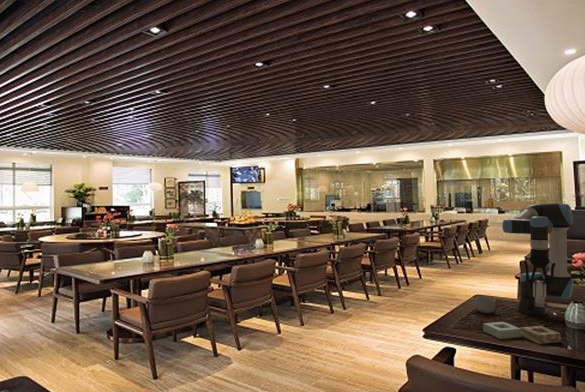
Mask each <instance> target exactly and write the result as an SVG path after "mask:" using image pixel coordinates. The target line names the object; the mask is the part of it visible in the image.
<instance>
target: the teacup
mask: <svg viewBox="0 0 585 392" xmlns="http://www.w3.org/2000/svg"><path fill="white" fill-rule="evenodd" d="M472 301H474V302H475V304H474V303H473V302H472ZM469 303H470V305H471V306H473V307H474V308H475V309H477V310H478V311H479V312H480V313H482V314H492V313H493V312H495V310H496V299H494V297H493V298H492V297H489V296H476V297H475V298H474V297H471V298H470V300H469Z"/></svg>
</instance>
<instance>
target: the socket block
mask: <svg viewBox="0 0 585 392" xmlns="http://www.w3.org/2000/svg"><path fill="white" fill-rule="evenodd" d="M482 324H483V328H482V330H483V332H484V333H485V334H489V335H491V336H493V337H495V338H497V339H499V340H505V339H513V338H522V336H521V329H520V327H518V326H515V325H513V324H511V323H508V322H505V321H498V322H497V321H495V322H487V323H486V322H485V323H484V322H483V323H482Z"/></svg>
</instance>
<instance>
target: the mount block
mask: <svg viewBox="0 0 585 392" xmlns="http://www.w3.org/2000/svg"><path fill="white" fill-rule="evenodd" d="M519 328H520V329H521V338H525V339H527V340H530V341H532V342H534V343H536V344H538V345H542V344H551V343H561V338H562V337H561V333H560V332H559V331H558V332H557V331H556V330H552V329H550V328H548V327H544V326H541V325H534V326H523V327H521V326H520V327H519Z"/></svg>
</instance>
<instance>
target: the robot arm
mask: <svg viewBox="0 0 585 392" xmlns="http://www.w3.org/2000/svg"><path fill="white" fill-rule="evenodd" d="M573 224H574V217H573V210H572V207H571V206H570V204H568V203H535V204H531V205H528V206H525V207H524V208H523V209H521V210H520V212H519V213H518V214H517V215H515V216H514V217H513V218H504V219H503V221H502V231H503V232H504V233H505V234H524V235H530V239H529V240H530V241H529V245H530V249H529V251H530V254H529V255H530V257H529V258H528V260H524V261H523V264H524V266H525V272H524V273H521V274H520V276H519V277H520V278H519V279H520V280H519V282H520V283H519V284H520V285H519V286H520V287H519V288H520V291H519V293H520V295H519V296H520V298H519V301H518V304H517V306H516V309H517V312H519V313H522V314H525V315H532V316H533V315H534V316H543V315H546V314H547V309H546V306H545V307H537V306H535V281H536V280H539V281H544V298H545V299H546V298H547V297H551V298H558V299H566V300H568V299H571V297H572V294H573V290H574V286H575V285H574V283H575V282H574V278H571V274H570V273H569V272H568V248H567V247H568V245H567V244H568V241H567V238H568V237H567V233H568V232H567V231H568V230H569V229H570V228H571V225H573ZM530 263H531V265H532V266H533V268H532V272H529V270H530V269H529V265H530ZM548 265H549V266H548ZM547 266H548V267H549V270H548V271H547V269H546V267H547ZM539 268H540V269H542V272H538V271H537V269H539ZM536 271H537V272H536Z"/></svg>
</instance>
